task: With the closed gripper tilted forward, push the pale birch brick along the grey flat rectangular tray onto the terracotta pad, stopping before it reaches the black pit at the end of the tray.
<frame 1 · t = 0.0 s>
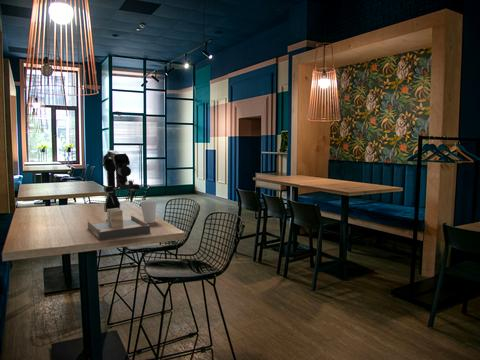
hand: (122, 203, 221), 15 cm above the table, tool pointing down, fingers open, 9 cm apart
foam cup: (149, 222, 241), on the table
grey flat rectangular tray: (118, 230, 219), on the table
birch brick: (115, 225, 223), point 2 cm above the table, touching grey flat rectangular tray
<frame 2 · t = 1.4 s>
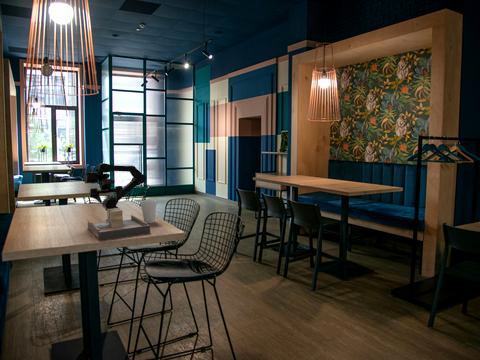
hand: (109, 202, 232), 14 cm above the table, tool tilted 45°, fingers open, 9 cm apart
nothing on the table moved.
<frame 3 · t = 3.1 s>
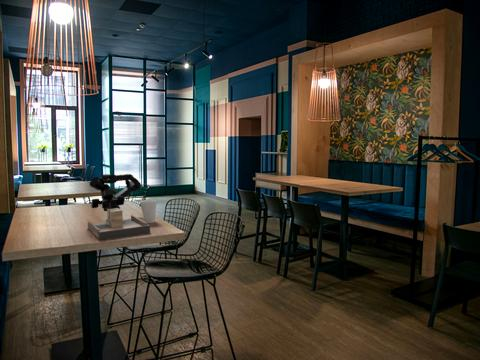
hand: (111, 213, 231), 8 cm above the table, tool tilted 45°, fingers closed
nothing on the table moved.
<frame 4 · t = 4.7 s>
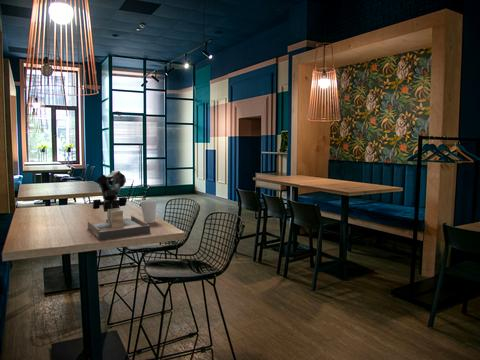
hand: (112, 214, 226), 8 cm above the table, tool tilted 45°, fingers closed, pressing on birch brick
birch brick: (115, 225, 223), point 2 cm above the table, touching gripper
everything else where it was.
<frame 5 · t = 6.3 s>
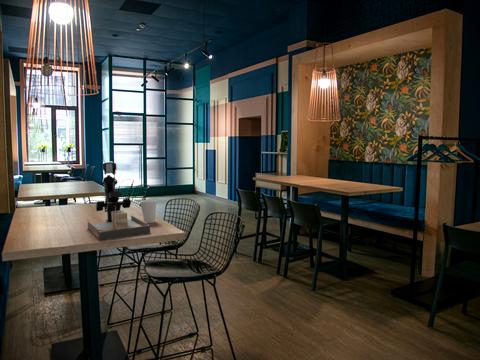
hand: (116, 216, 219), 8 cm above the table, tool tilted 45°, fingers closed, pressing on birch brick
birch brick: (120, 228, 215), point 2 cm above the table, touching gripper
everything else where it was.
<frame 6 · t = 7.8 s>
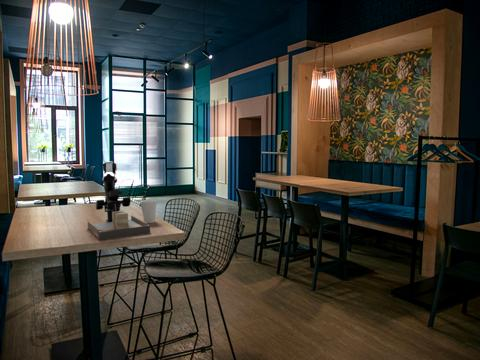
hand: (116, 215, 220), 8 cm above the table, tool tilted 45°, fingers closed
birch brick: (120, 228, 214), point 2 cm above the table, touching grey flat rectangular tray
everything else where it was.
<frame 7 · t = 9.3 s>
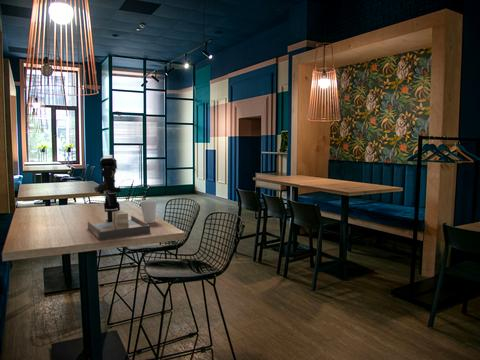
hand: (110, 205, 230), 12 cm above the table, tool pointing down, fingers closed
nothing on the table moved.
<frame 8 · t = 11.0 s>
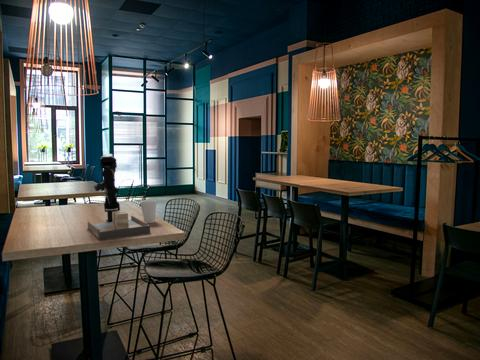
hand: (110, 203, 231), 13 cm above the table, tool pointing down, fingers closed
nothing on the table moved.
at the end: birch brick inside the target area (0.3 cm from its centre), point 2.0 cm above the table; birch brick tilted 0° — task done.
